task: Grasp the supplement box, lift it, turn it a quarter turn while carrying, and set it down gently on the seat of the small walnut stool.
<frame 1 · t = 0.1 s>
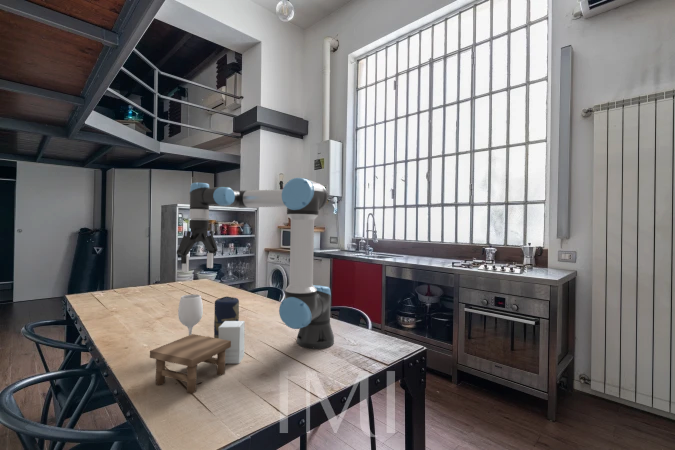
hand: (198, 269, 136), 28 cm above the table, fingers open, 13 cm apart
wineglass: (189, 354, 117), on the table
supplement box: (231, 360, 113), on the table
stool: (191, 378, 99), on the table
canister: (226, 341, 131), on the table
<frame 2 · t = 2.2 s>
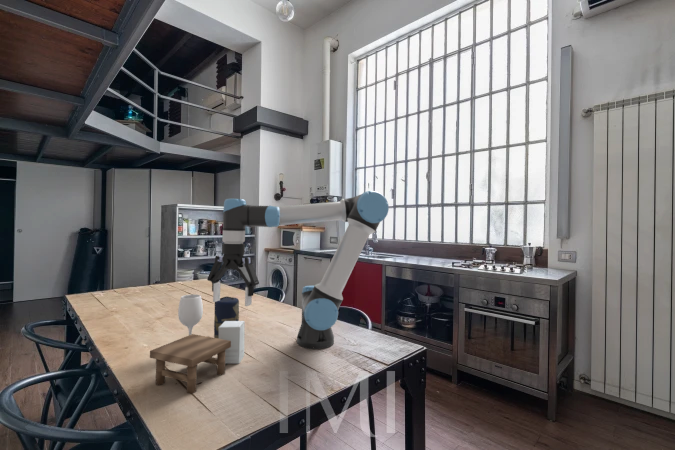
hand: (232, 303, 113), 20 cm above the table, fingers open, 13 cm apart
nothing on the table moved.
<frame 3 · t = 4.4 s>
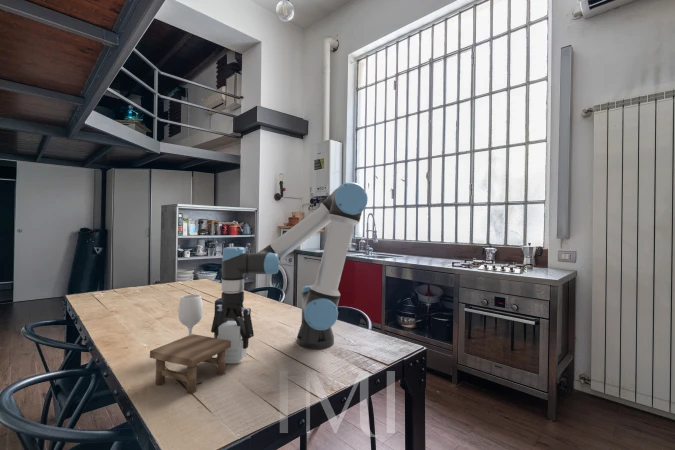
hand: (231, 355, 113), 2 cm above the table, fingers closed on supplement box, 9 cm apart
supplement box: (231, 360, 113), on the table, touching gripper
everything else where it was.
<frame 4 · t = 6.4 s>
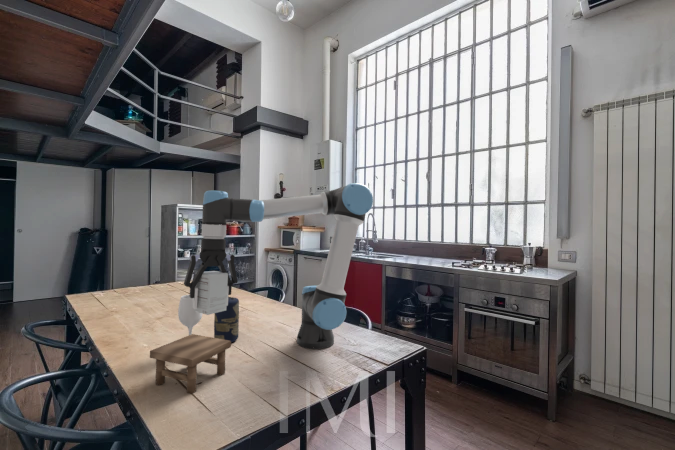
hand: (210, 306, 105), 20 cm above the table, fingers closed on supplement box, 9 cm apart
supplement box: (210, 311, 105), point 19 cm above the table, touching gripper
everything else where it was.
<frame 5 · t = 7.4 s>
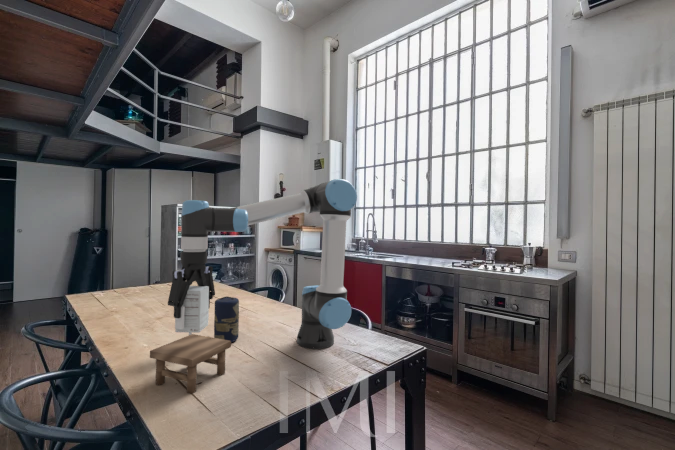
hand: (192, 323, 99), 17 cm above the table, fingers closed on supplement box, 9 cm apart
supplement box: (192, 329, 98), point 15 cm above the table, touching gripper
everything else where it was.
when the fingers open (13 cm above the table, at t = 8.5 s): supplement box drops 1 cm, resting on stool.
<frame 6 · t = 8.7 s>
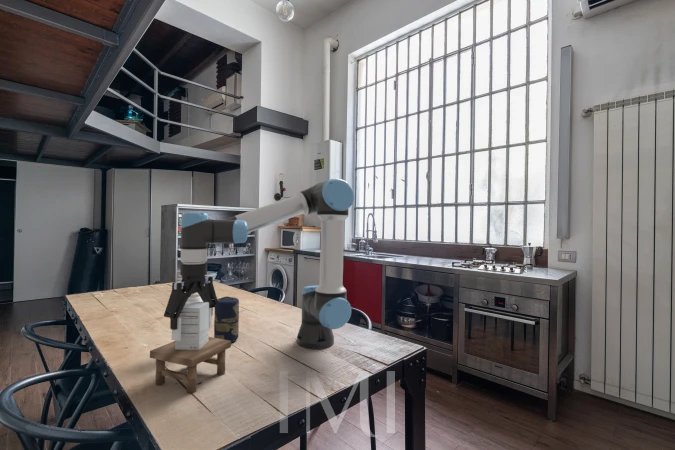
hand: (192, 333, 99), 14 cm above the table, fingers open, 11 cm apart
supplement box: (192, 346, 99), point 10 cm above the table, touching stool
everything else where it was.
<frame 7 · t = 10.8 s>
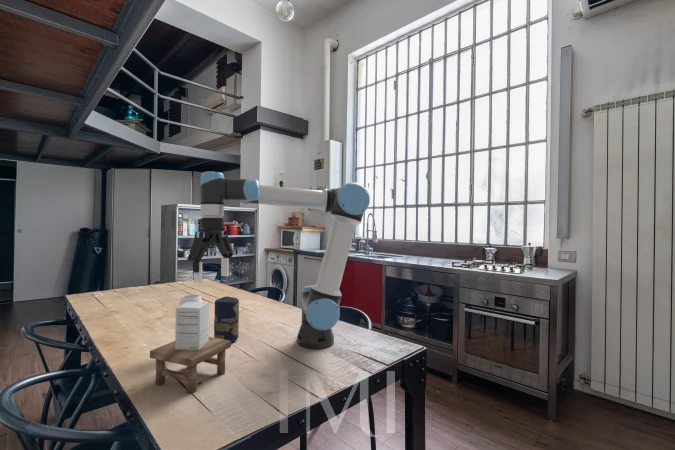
hand: (212, 279, 110), 28 cm above the table, fingers open, 13 cm apart
nothing on the table moved.
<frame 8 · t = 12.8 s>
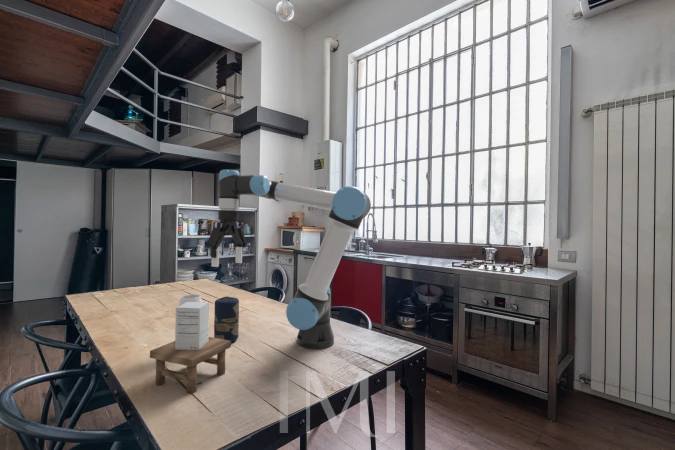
hand: (227, 264, 125), 32 cm above the table, fingers open, 13 cm apart
nothing on the table moved.
at the end: supplement box inside the target area on the stool (0.0 cm from its centre), point 9.8 cm above the stool's base; supplement box tilted 0°; the gripper is holding nothing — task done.
